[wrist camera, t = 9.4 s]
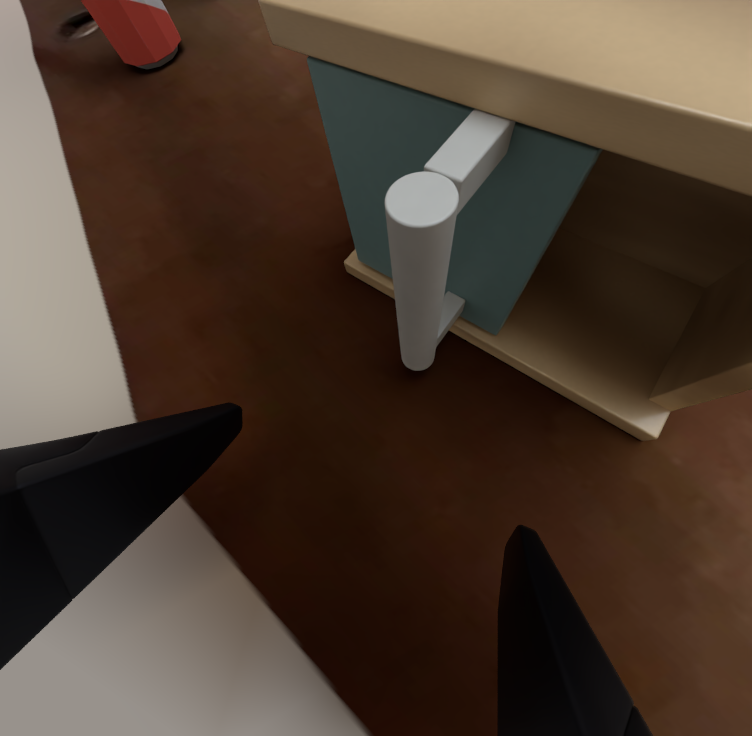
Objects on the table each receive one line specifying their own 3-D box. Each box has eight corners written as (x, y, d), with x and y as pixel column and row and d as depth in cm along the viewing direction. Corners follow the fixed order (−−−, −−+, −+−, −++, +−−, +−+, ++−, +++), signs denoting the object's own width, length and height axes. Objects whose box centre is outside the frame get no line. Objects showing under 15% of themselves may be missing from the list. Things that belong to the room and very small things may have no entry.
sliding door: (451, 401, 15) (509, 274, 6) (313, 311, 17) (204, 128, 8) (503, 324, 16) (622, 115, 7) (365, 251, 18) (318, 29, 9)
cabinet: (642, 442, 14) (1437, 304, 3) (346, 272, 20) (255, -3, 9) (716, 294, 16) (1366, -110, 5) (429, 176, 22) (445, -149, 11)
